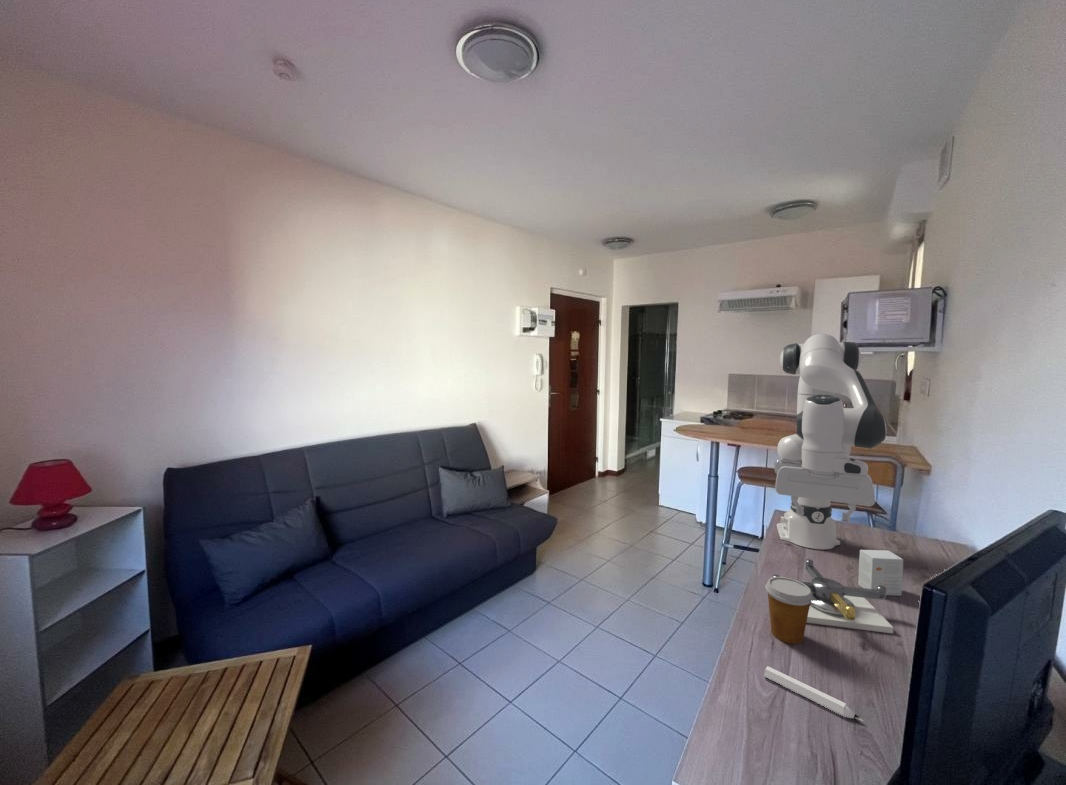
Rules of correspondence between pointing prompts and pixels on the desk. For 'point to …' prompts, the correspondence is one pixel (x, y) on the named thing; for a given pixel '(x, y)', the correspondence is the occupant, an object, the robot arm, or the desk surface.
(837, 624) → the stand
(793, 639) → the disposable coffee cup
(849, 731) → the desk surface
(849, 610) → the capstan
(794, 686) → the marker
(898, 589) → the small box
